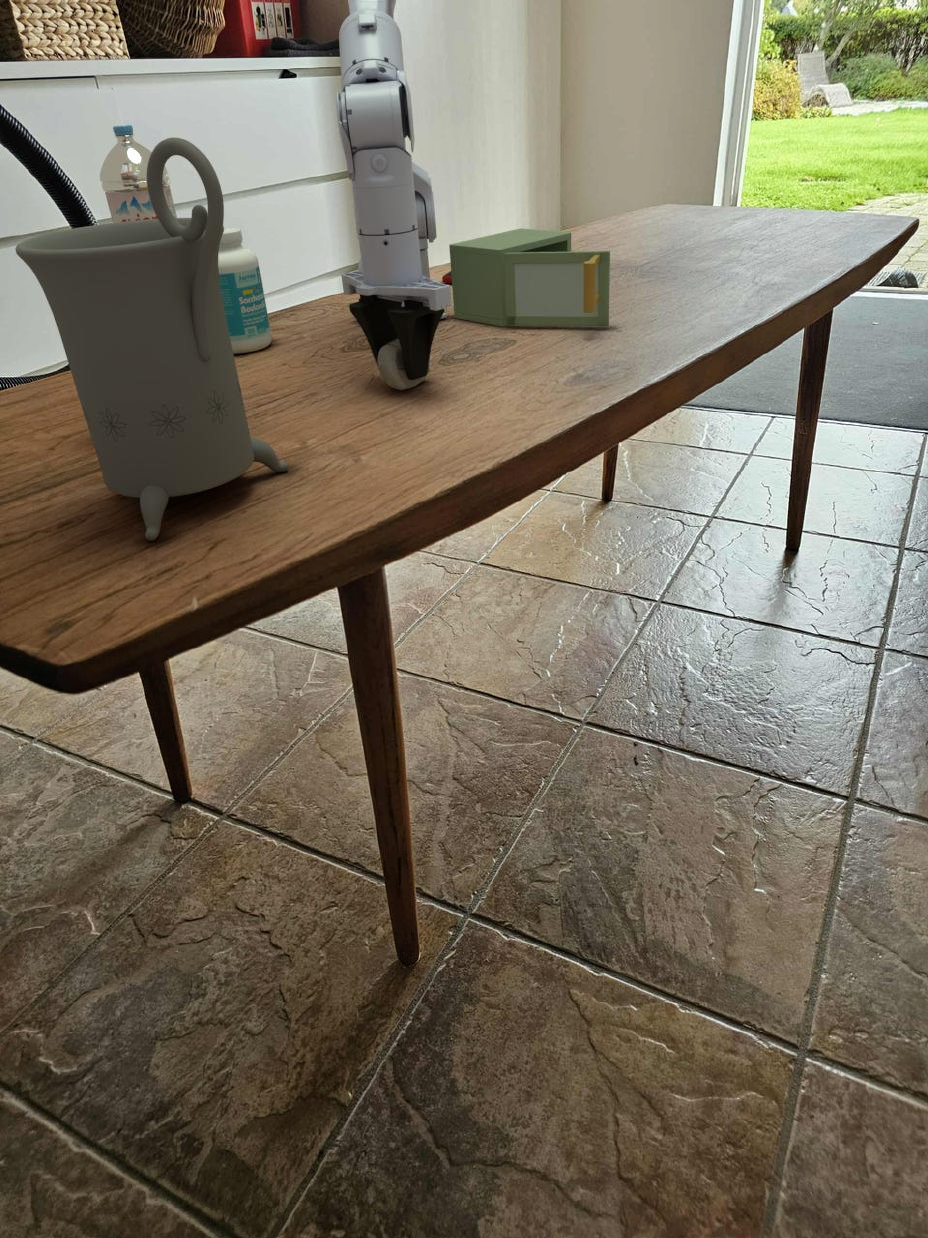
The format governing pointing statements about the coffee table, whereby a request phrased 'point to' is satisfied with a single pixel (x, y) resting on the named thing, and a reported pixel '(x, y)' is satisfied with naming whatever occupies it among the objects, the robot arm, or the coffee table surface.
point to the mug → (152, 344)
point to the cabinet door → (557, 288)
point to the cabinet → (493, 270)
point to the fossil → (395, 367)
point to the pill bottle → (242, 294)
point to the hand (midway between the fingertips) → (403, 373)
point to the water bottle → (130, 179)
